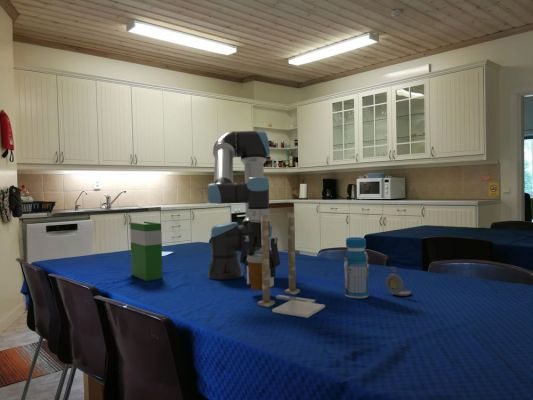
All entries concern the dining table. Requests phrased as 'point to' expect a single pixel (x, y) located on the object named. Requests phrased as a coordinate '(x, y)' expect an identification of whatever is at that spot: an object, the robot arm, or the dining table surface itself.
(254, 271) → the disposable coffee cup
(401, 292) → the pocket watch
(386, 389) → the dining table surface
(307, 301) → the guide strip
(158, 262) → the hardback book
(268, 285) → the gate posts
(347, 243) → the beverage bottle
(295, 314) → the tile
